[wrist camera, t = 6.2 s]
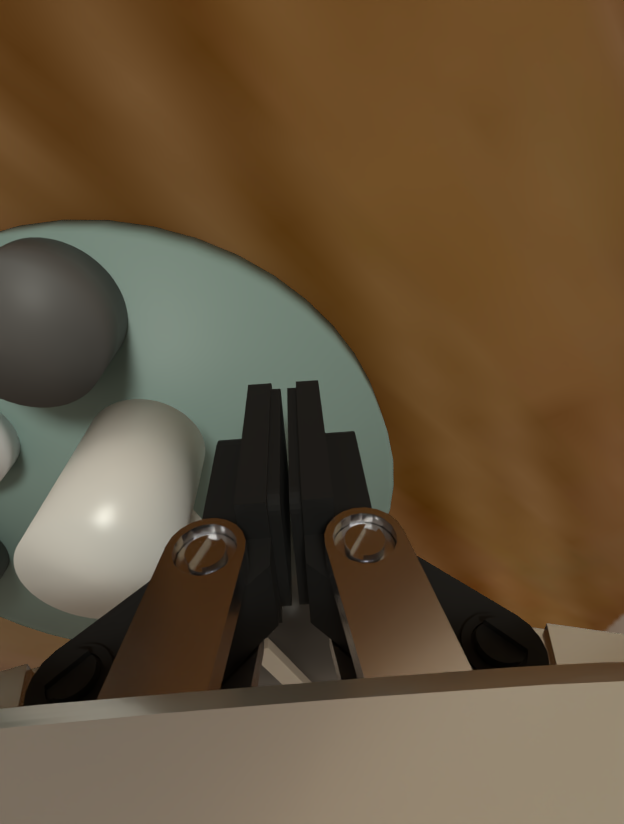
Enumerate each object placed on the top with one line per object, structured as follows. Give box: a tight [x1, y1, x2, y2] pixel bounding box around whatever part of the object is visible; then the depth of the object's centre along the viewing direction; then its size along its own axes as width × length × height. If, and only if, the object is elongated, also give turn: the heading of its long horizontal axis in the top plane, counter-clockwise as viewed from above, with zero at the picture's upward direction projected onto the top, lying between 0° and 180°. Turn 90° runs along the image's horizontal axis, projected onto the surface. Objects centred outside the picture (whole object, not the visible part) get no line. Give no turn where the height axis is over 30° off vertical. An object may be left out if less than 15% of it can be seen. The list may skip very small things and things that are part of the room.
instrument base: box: [0, 220, 393, 639], centre depth 16 cm, size 18×18×4 cm
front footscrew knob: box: [14, 399, 338, 687], centre depth 14 cm, size 13×6×6 cm, turn 26°
